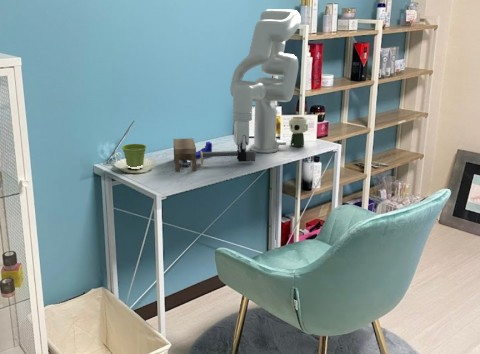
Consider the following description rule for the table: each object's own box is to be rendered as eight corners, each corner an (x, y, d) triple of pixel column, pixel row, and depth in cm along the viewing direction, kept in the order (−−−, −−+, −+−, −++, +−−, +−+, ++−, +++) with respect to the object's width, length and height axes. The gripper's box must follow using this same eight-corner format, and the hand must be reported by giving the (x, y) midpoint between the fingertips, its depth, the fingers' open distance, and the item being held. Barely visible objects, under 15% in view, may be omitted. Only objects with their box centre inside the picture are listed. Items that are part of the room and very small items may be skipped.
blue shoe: (208, 154, 234) (208, 140, 233) (211, 157, 231) (211, 143, 229) (181, 156, 230) (181, 143, 228) (184, 159, 226) (184, 145, 224)
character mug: (283, 144, 250) (284, 116, 246) (293, 142, 255) (294, 114, 251) (301, 149, 243) (302, 121, 238) (311, 147, 247) (313, 118, 243)
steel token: (179, 163, 221) (179, 158, 221) (191, 164, 221) (191, 159, 221) (177, 166, 216) (177, 161, 216) (190, 167, 216) (190, 162, 216)
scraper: (253, 158, 225) (253, 149, 224) (255, 162, 220) (256, 153, 219) (200, 160, 222) (200, 151, 220) (201, 164, 217) (201, 154, 216)
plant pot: (121, 165, 217) (119, 144, 214) (144, 163, 220) (143, 142, 217) (125, 172, 209) (124, 151, 206) (149, 170, 212) (148, 148, 209)
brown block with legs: (193, 159, 226) (193, 138, 223) (196, 170, 212) (196, 148, 209) (173, 159, 225) (173, 138, 222) (175, 171, 211) (175, 149, 208)
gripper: (230, 111, 223) (229, 155, 229) (236, 120, 208) (235, 166, 214) (248, 111, 224) (247, 154, 230) (255, 120, 209) (254, 166, 215)
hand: (241, 160), depth 222 cm, fingers closed on scraper, 2 cm apart
